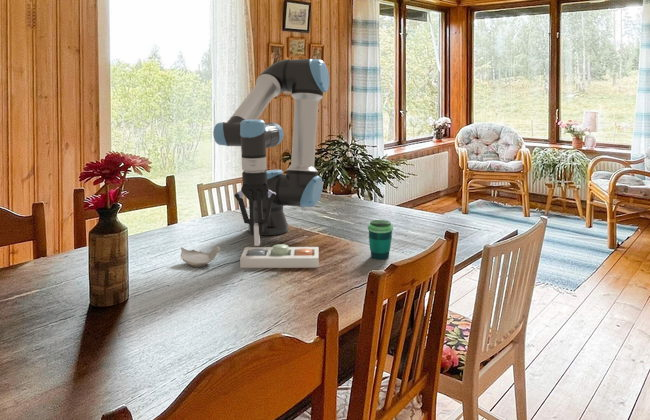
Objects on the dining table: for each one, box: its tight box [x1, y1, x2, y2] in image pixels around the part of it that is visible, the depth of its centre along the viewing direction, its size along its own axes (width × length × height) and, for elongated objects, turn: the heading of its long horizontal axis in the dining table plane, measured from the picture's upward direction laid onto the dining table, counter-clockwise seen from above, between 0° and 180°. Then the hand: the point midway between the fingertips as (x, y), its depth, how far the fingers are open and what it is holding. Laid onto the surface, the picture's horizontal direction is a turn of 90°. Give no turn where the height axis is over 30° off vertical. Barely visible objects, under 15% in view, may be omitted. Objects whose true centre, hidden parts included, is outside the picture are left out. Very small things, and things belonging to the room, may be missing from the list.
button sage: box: [272, 243, 289, 256], centre depth 174 cm, size 5×5×3 cm
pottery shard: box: [180, 245, 221, 268], centre depth 173 cm, size 10×11×5 cm
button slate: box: [249, 249, 265, 256], centre depth 175 cm, size 5×5×3 cm
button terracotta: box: [296, 249, 312, 256], centre depth 175 cm, size 5×5×3 cm
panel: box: [239, 246, 320, 269], centre depth 175 cm, size 24×12×3 cm, turn 90°
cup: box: [367, 219, 394, 261], centre depth 177 cm, size 8×8×12 cm
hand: (257, 244), depth 174 cm, fingers closed
